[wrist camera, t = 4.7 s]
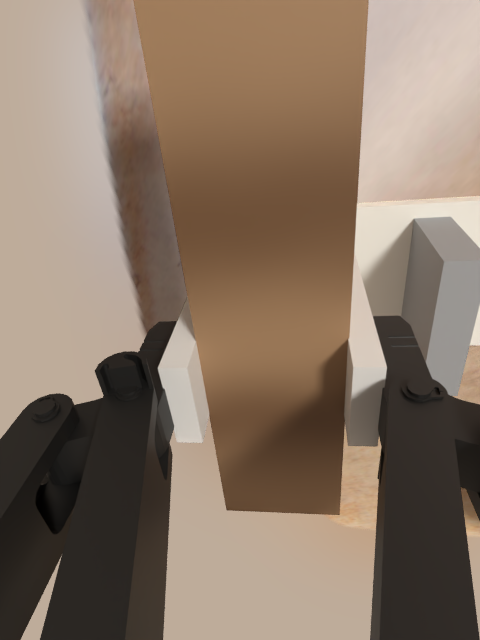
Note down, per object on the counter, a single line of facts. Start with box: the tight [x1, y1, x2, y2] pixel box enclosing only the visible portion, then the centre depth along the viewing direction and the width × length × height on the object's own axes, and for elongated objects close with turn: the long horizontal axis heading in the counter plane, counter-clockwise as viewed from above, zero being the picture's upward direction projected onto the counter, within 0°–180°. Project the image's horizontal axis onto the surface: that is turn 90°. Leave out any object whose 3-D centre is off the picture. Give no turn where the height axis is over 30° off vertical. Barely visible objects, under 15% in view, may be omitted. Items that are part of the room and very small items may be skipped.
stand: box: [354, 196, 480, 396], centre depth 29 cm, size 12×12×8 cm
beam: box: [133, 0, 368, 515], centre depth 12 cm, size 22×4×6 cm, turn 6°
